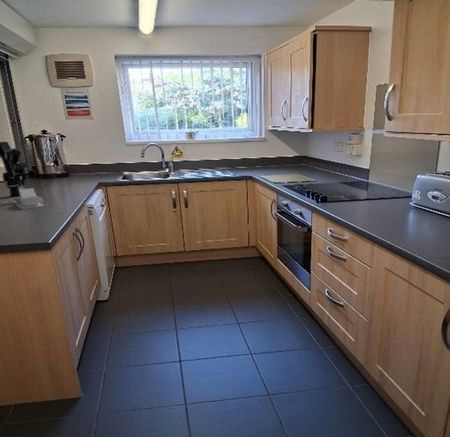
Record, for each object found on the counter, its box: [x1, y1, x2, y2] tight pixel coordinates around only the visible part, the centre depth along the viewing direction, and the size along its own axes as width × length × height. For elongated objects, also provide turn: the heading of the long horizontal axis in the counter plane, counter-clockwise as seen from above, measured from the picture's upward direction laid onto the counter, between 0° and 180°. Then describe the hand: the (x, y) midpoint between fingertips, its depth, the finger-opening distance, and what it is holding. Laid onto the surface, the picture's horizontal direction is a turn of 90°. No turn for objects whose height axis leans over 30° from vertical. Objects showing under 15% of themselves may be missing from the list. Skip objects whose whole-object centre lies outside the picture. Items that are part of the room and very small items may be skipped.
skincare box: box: [19, 187, 38, 207], centre depth 218 cm, size 8×6×15 cm
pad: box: [17, 203, 46, 210], centre depth 217 cm, size 12×12×1 cm
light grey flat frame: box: [12, 195, 44, 207], centre depth 230 cm, size 22×14×2 cm, turn 43°
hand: (23, 185), depth 228 cm, fingers closed
